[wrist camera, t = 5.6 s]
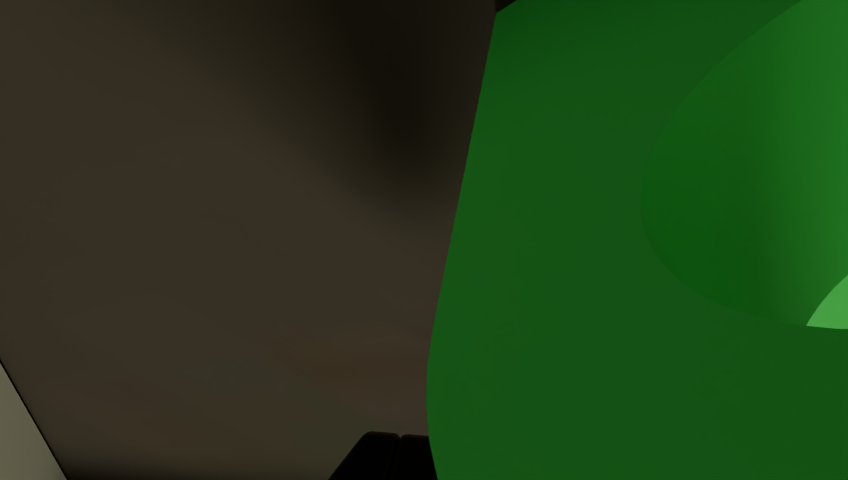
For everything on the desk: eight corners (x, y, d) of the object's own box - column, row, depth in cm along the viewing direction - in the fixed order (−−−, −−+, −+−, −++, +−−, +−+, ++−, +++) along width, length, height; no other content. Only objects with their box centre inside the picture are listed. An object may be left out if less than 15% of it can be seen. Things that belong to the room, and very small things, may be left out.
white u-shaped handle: (471, -343, 7) (429, -337, 5) (491, 589, 16) (480, 723, 14) (-412, -272, 8) (-730, -244, 6) (79, 543, 17) (16, 658, 15)
